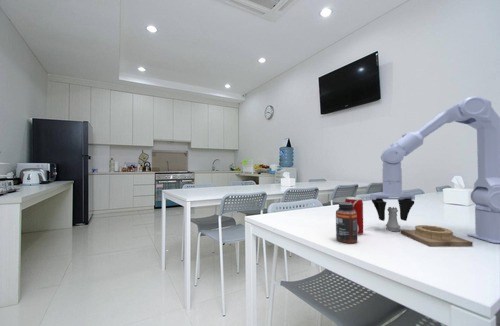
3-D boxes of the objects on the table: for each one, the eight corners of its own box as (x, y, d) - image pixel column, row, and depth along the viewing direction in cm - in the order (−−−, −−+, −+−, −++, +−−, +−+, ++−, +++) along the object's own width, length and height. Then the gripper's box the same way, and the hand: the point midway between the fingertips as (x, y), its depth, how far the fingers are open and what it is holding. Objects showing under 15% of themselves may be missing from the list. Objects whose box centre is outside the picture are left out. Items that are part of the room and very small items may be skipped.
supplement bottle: (357, 239, 68) (356, 202, 69) (357, 245, 63) (357, 205, 63) (336, 236, 71) (336, 201, 71) (335, 242, 66) (334, 204, 66)
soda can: (342, 232, 75) (341, 197, 76) (350, 229, 79) (350, 195, 79) (358, 236, 71) (357, 198, 71) (366, 233, 74) (365, 197, 75)
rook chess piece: (403, 232, 75) (402, 208, 75) (388, 231, 76) (388, 208, 76) (397, 228, 80) (396, 206, 80) (383, 228, 80) (383, 206, 81)
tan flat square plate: (436, 233, 74) (436, 223, 74) (472, 246, 62) (472, 234, 62) (400, 233, 74) (400, 223, 74) (429, 246, 62) (429, 234, 62)
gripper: (404, 180, 82) (405, 217, 82) (365, 180, 82) (366, 217, 82) (419, 182, 75) (419, 222, 75) (376, 182, 75) (376, 222, 75)
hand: (392, 220), depth 78 cm, fingers open, 7 cm apart
